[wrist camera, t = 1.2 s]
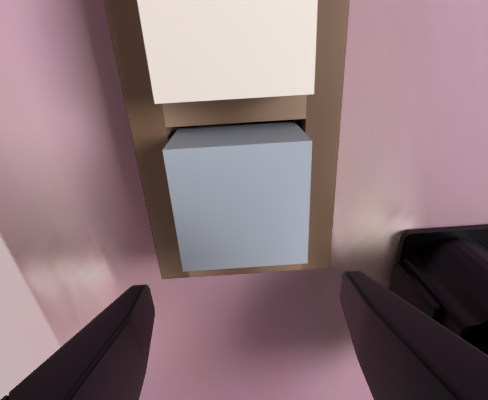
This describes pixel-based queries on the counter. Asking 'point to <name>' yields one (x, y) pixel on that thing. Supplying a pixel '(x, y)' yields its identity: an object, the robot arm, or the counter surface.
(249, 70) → the button cream
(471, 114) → the counter surface
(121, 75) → the wooden compartment tray
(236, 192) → the button slate
